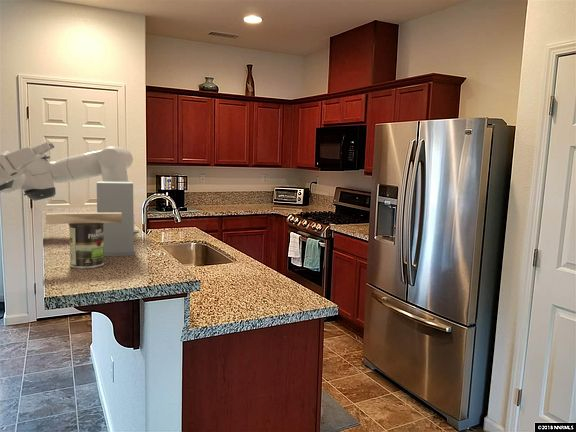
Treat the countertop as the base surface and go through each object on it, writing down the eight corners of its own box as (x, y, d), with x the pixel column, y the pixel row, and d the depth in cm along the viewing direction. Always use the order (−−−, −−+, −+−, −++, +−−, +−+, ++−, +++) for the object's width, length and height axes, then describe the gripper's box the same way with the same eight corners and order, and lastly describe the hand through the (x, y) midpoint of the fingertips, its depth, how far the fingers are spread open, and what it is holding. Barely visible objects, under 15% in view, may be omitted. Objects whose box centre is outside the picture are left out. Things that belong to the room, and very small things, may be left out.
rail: (47, 222, 142) (47, 212, 142) (121, 221, 149) (121, 212, 149) (46, 223, 139) (45, 214, 138) (121, 222, 146) (121, 213, 146)
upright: (98, 251, 166) (96, 181, 162) (134, 249, 170) (134, 181, 167) (96, 256, 158) (94, 183, 154) (135, 255, 162) (134, 183, 158)
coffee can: (111, 263, 149) (110, 221, 147) (87, 270, 140) (86, 225, 138) (87, 259, 153) (86, 219, 151) (62, 266, 143) (61, 223, 141)
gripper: (23, 171, 156) (60, 153, 159) (8, 174, 137) (51, 153, 140) (12, 155, 154) (50, 137, 157) (-4, 156, 135) (39, 135, 138)
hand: (51, 144), depth 148 cm, fingers open, 8 cm apart
